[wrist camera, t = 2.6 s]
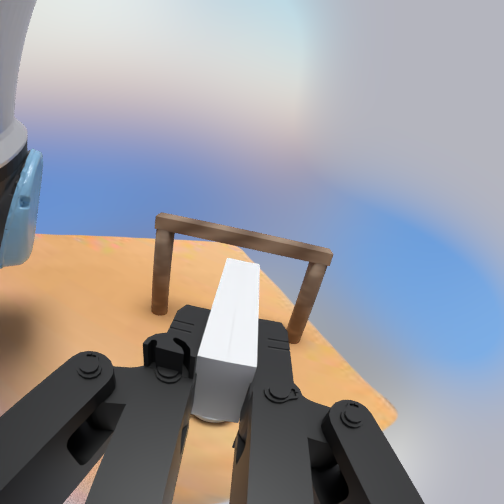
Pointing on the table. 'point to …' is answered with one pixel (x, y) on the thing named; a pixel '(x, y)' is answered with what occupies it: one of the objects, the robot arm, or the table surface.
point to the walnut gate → (242, 238)
